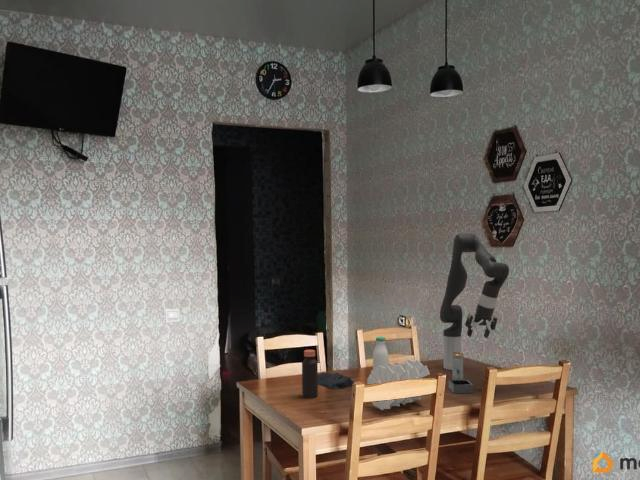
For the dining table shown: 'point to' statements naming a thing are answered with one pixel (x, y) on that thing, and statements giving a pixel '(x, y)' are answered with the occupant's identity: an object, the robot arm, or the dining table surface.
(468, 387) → the socket
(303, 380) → the vinegar
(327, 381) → the dark slate chunk
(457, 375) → the grey cylinder
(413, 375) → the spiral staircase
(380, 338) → the milk bottle
